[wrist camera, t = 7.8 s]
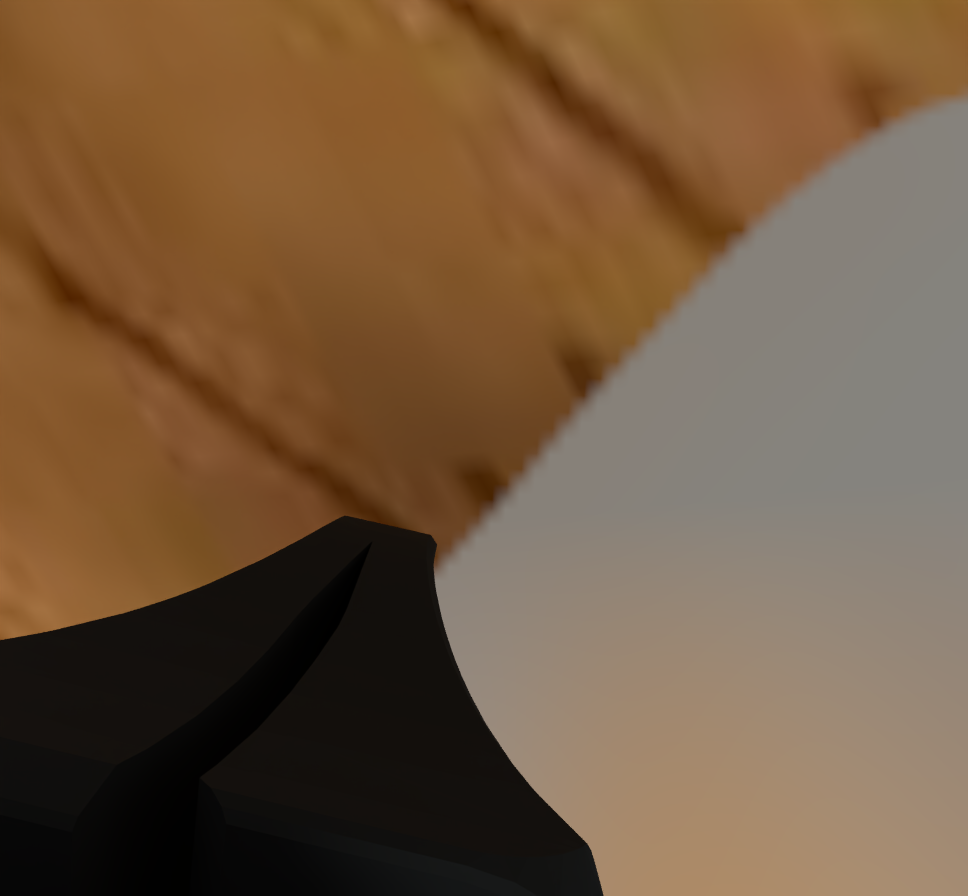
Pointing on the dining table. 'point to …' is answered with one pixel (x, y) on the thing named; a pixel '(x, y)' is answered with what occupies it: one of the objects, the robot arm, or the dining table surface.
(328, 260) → the dining table surface
